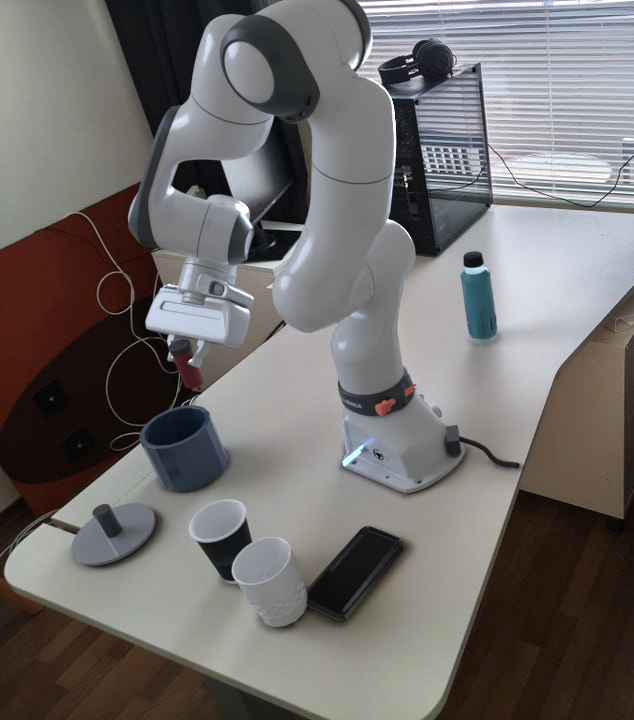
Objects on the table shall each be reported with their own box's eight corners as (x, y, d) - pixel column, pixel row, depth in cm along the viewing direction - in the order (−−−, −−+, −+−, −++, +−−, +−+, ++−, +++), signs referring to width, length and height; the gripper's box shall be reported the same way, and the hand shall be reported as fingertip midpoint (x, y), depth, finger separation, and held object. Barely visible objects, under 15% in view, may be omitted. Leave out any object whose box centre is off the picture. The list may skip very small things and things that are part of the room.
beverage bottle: (495, 346, 147) (486, 261, 136) (465, 345, 149) (453, 261, 138) (501, 330, 152) (492, 246, 141) (471, 330, 154) (460, 247, 143)
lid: (170, 532, 112) (155, 505, 108) (91, 582, 105) (73, 554, 101) (139, 497, 119) (124, 470, 116) (63, 541, 113) (46, 514, 109)
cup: (239, 465, 124) (221, 421, 118) (178, 502, 117) (156, 458, 112) (209, 439, 131) (191, 397, 125) (150, 472, 125) (128, 430, 119)
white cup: (290, 574, 101) (267, 528, 96) (324, 599, 97) (303, 551, 91) (246, 614, 97) (219, 567, 91) (279, 642, 92) (254, 594, 86)
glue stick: (208, 381, 122) (193, 343, 118) (189, 391, 120) (173, 353, 116) (199, 374, 124) (184, 336, 120) (180, 384, 122) (164, 346, 118)
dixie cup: (249, 542, 108) (228, 491, 102) (277, 567, 103) (256, 515, 97) (203, 574, 103) (178, 523, 97) (230, 602, 98) (205, 550, 92)
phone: (405, 540, 103) (341, 619, 93) (407, 545, 104) (343, 624, 93) (364, 523, 107) (298, 597, 96) (365, 528, 107) (300, 602, 97)
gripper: (149, 276, 123) (126, 351, 121) (236, 289, 114) (213, 370, 112) (176, 286, 128) (155, 359, 127) (261, 299, 120) (240, 377, 118)
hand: (183, 364), depth 119 cm, fingers closed on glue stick, 3 cm apart
